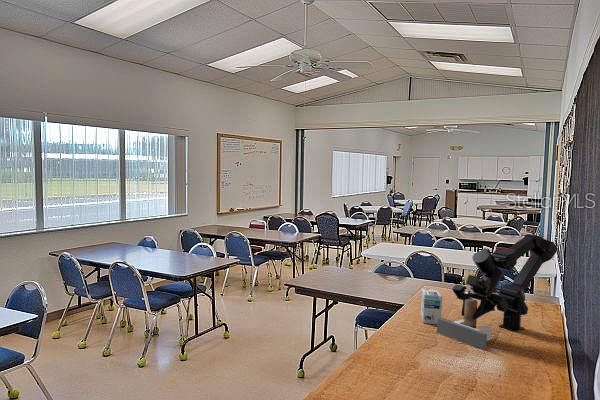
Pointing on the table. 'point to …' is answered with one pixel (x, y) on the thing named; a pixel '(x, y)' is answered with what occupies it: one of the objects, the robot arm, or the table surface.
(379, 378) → the table surface
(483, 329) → the socket block
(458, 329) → the backstop wall
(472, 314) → the dowel
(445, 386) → the table surface
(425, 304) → the light bulb box
